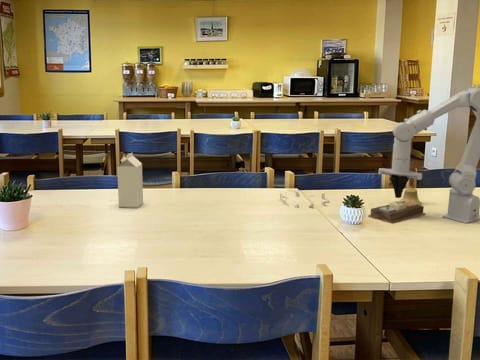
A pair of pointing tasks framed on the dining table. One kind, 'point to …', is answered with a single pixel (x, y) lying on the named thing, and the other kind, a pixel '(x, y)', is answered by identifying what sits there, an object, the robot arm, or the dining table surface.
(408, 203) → the key one terracotta
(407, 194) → the hand bell
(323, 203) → the game piece set
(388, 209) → the key three slate
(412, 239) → the dining table surface
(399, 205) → the key two cream
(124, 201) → the milk carton
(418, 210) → the wooden tray
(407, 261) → the dining table surface
